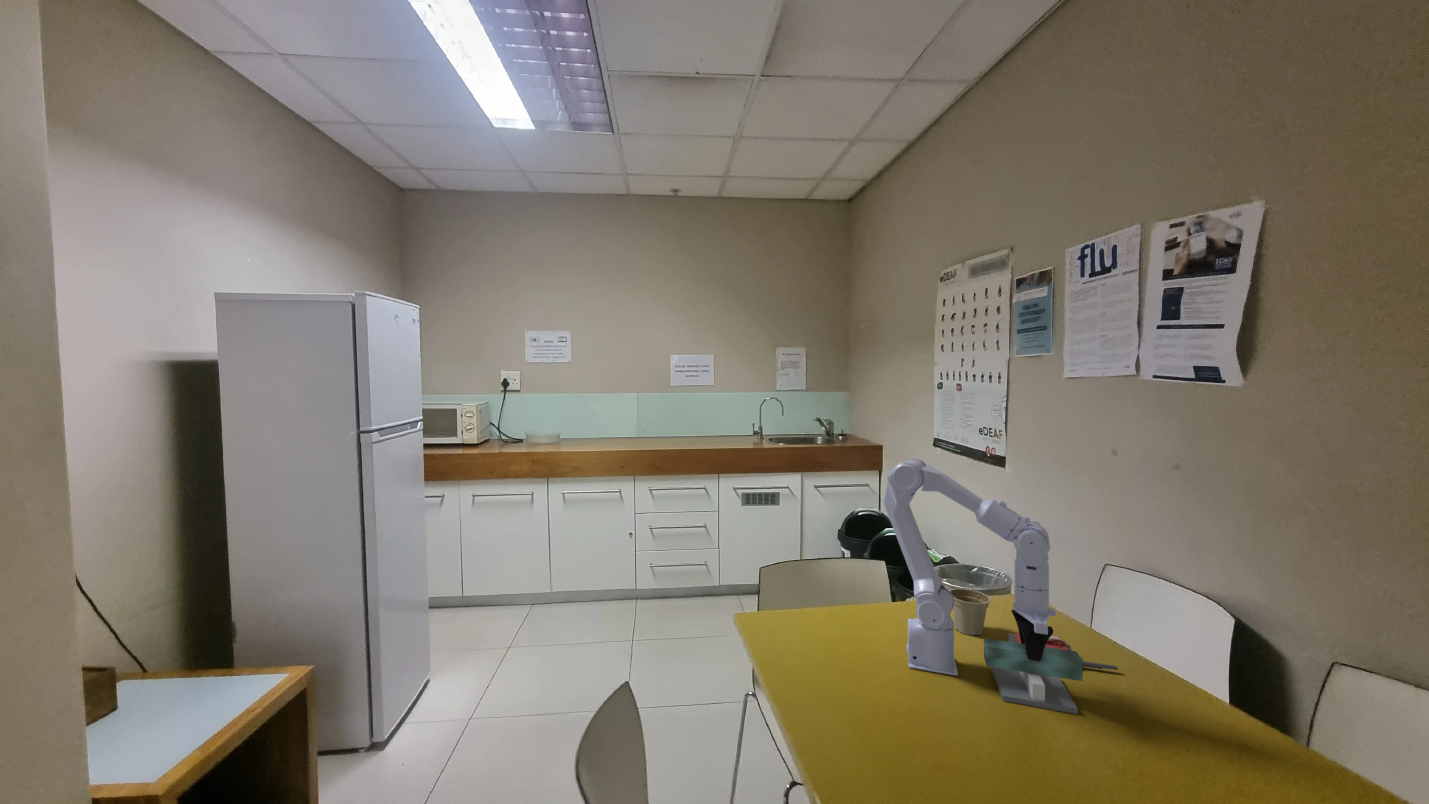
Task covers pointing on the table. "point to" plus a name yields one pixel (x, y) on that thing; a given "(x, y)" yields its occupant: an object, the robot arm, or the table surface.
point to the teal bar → (1017, 660)
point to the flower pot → (969, 610)
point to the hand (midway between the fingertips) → (1031, 654)
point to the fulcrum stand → (1033, 690)
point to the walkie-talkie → (1060, 644)
